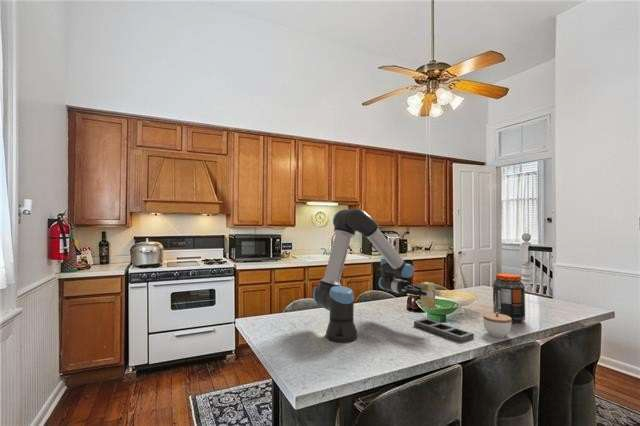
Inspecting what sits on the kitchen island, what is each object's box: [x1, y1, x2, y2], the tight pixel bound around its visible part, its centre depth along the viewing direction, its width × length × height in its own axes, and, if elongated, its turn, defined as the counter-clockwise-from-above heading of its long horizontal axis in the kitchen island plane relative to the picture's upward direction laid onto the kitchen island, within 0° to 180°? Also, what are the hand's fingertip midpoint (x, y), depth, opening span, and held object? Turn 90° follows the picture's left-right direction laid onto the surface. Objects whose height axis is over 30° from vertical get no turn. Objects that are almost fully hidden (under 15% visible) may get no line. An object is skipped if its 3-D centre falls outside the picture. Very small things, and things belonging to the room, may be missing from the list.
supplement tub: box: [492, 272, 526, 324], centre depth 183 cm, size 16×16×26 cm
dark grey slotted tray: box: [413, 317, 475, 344], centre depth 162 cm, size 10×28×2 cm, turn 32°
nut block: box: [419, 281, 436, 309], centre depth 164 cm, size 5×5×12 cm
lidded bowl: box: [482, 312, 513, 338], centre depth 159 cm, size 13×13×11 cm
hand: (436, 294), depth 160 cm, fingers closed on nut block, 5 cm apart
